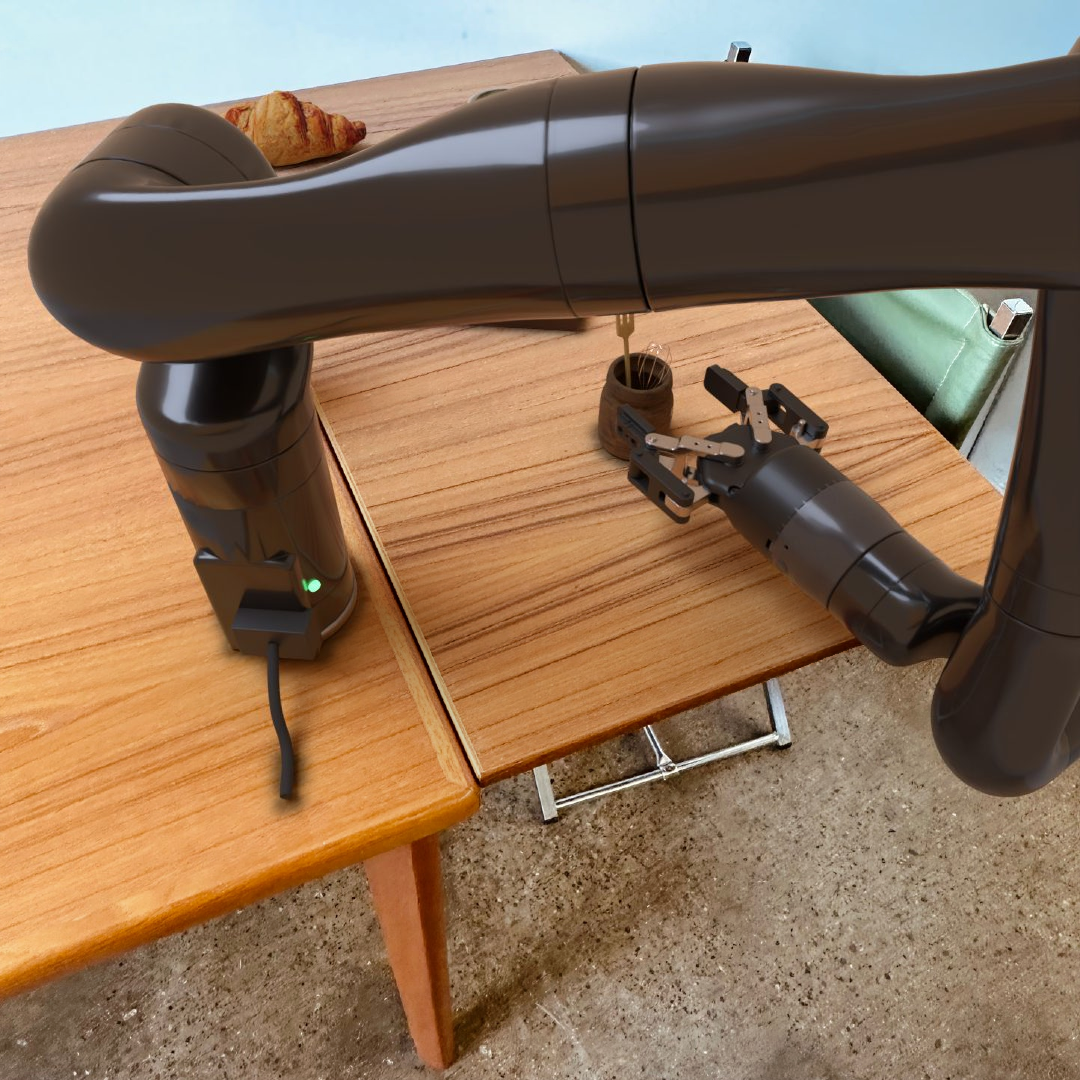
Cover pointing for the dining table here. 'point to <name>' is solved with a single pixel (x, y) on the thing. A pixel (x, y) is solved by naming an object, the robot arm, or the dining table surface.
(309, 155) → the croissant
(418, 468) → the dining table surface
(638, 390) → the utensil holder
